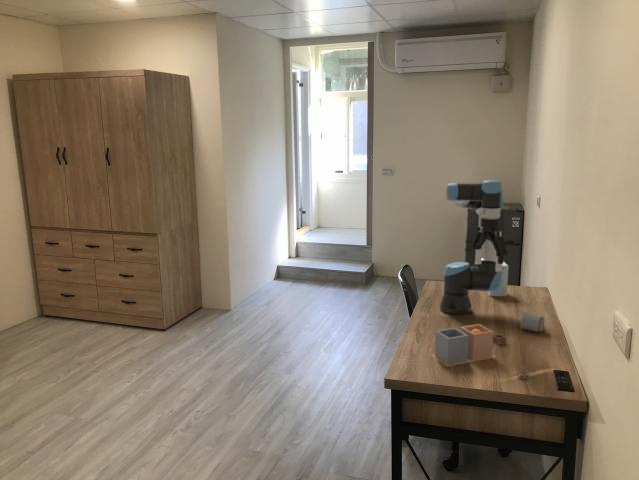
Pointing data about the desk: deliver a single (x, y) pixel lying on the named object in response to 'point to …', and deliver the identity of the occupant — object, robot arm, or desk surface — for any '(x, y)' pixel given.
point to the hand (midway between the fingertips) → (488, 267)
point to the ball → (475, 331)
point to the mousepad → (524, 376)
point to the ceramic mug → (532, 322)
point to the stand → (499, 339)
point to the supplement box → (502, 283)
